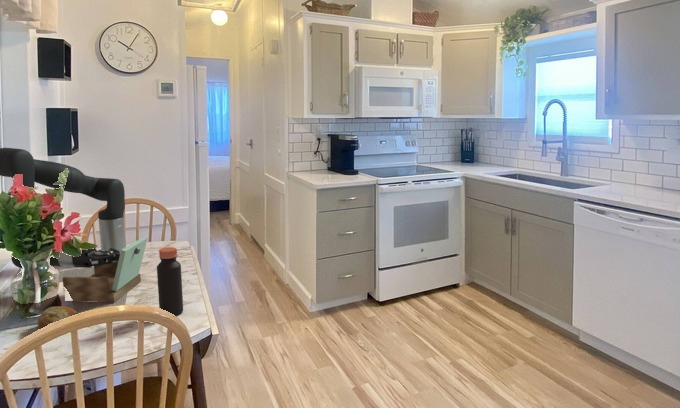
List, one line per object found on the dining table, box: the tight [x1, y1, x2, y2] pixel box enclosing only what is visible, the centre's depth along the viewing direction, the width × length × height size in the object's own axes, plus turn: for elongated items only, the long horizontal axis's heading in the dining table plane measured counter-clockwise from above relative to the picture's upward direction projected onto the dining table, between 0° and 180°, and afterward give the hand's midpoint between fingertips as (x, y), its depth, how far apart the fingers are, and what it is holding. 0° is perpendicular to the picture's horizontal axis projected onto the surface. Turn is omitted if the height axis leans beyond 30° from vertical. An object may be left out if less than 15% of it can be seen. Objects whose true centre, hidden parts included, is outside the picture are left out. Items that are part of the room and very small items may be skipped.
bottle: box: [156, 246, 184, 316], centre depth 140 cm, size 7×7×20 cm
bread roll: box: [36, 305, 79, 331], centre depth 131 cm, size 10×10×8 cm
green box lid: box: [112, 236, 148, 291], centre depth 156 cm, size 2×16×14 cm, turn 1°
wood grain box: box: [62, 261, 142, 303], centre depth 158 cm, size 16×19×8 cm
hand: (128, 257), depth 156 cm, fingers closed
